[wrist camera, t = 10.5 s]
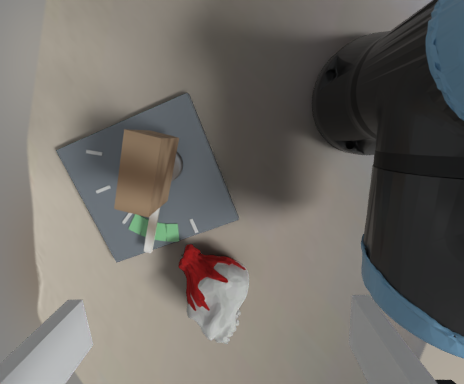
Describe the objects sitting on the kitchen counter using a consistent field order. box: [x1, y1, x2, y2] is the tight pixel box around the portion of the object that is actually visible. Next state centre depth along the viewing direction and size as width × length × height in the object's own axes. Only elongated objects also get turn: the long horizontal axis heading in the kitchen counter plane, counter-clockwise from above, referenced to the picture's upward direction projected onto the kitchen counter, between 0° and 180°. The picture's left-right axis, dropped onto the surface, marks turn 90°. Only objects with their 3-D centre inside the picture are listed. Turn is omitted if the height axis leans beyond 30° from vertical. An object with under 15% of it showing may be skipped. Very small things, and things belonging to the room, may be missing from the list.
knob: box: [114, 129, 183, 253], centre depth 32 cm, size 18×5×10 cm, turn 166°
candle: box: [179, 244, 249, 344], centre depth 37 cm, size 9×11×15 cm
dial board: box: [56, 93, 239, 262], centre depth 37 cm, size 22×20×1 cm
